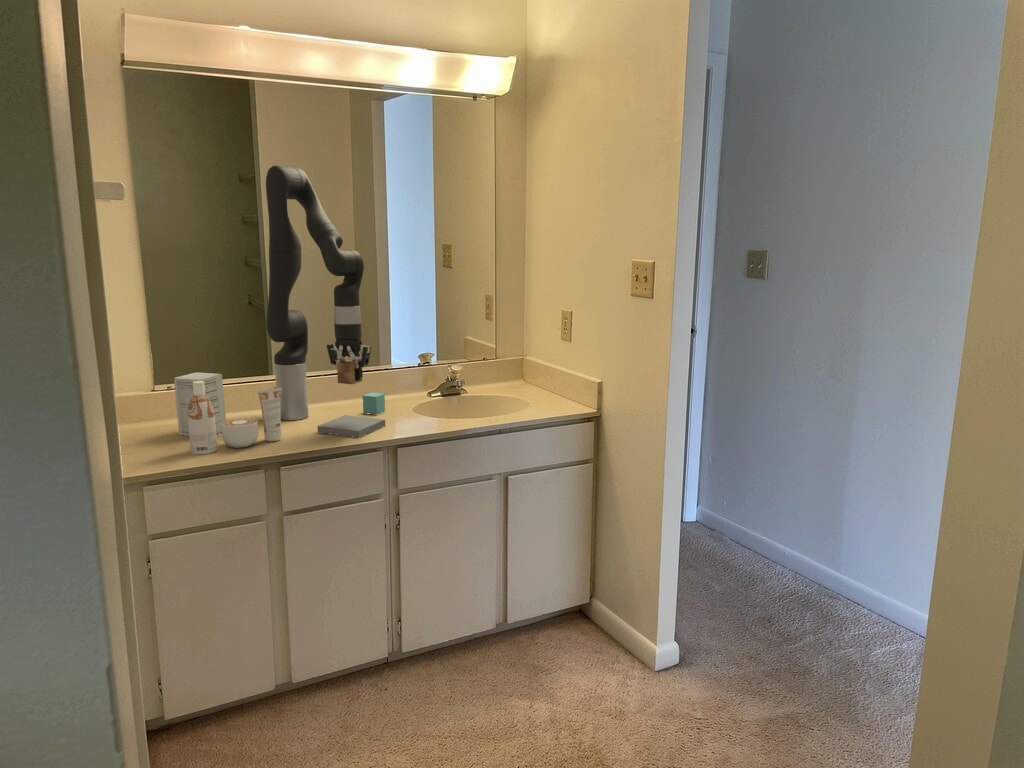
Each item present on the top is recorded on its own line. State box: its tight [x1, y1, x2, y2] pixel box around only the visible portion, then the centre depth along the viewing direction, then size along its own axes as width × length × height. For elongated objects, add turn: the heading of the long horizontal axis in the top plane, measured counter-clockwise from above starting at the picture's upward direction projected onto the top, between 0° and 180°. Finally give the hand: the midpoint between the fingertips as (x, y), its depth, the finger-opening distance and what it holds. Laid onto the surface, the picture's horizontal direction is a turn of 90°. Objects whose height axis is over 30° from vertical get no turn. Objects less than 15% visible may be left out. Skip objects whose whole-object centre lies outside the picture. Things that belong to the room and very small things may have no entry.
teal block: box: [362, 392, 386, 415], centre depth 237 cm, size 5×5×6 cm
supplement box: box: [173, 372, 227, 437], centre depth 211 cm, size 10×9×17 cm
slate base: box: [316, 414, 386, 438], centre depth 217 cm, size 14×14×2 cm
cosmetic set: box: [187, 381, 282, 455], centre depth 199 cm, size 25×9×19 cm, turn 127°
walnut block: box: [336, 359, 363, 385], centre depth 214 cm, size 5×5×6 cm
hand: (350, 379), depth 215 cm, fingers closed on walnut block, 5 cm apart
